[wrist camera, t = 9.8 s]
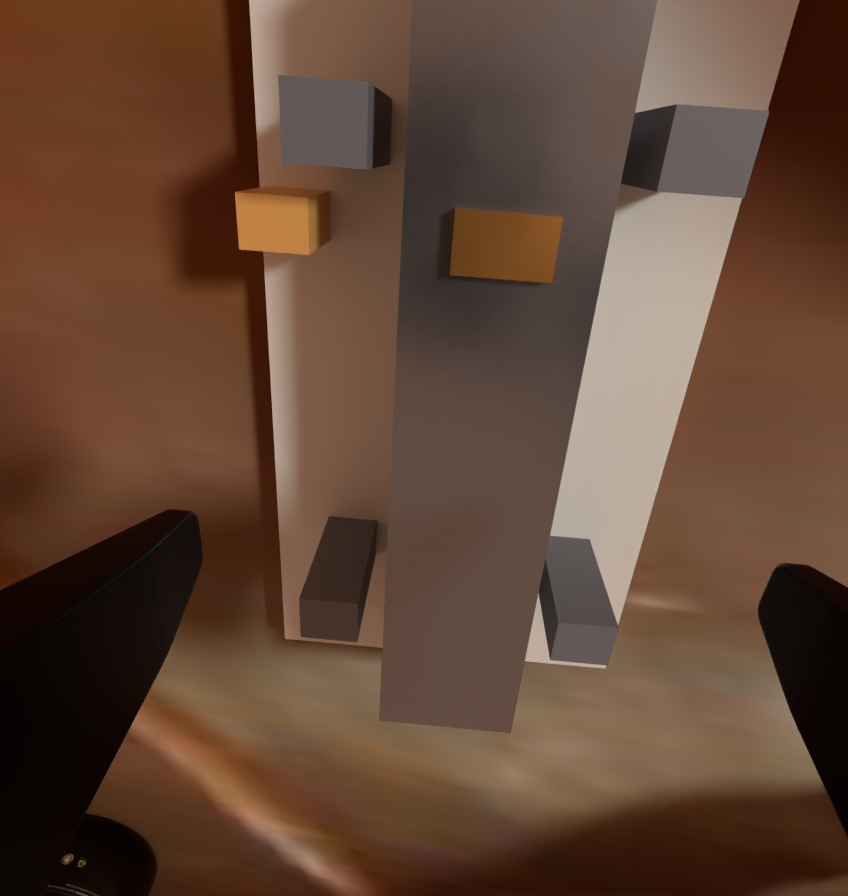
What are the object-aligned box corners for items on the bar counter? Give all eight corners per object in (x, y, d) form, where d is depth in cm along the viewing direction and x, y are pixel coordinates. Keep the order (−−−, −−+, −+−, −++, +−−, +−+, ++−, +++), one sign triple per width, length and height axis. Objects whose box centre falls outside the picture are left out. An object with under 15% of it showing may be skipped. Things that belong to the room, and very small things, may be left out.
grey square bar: (502, 635, 21) (511, 741, 18) (393, 625, 21) (377, 729, 18) (624, -77, 12) (699, -181, 8) (433, -90, 12) (419, -199, 8)
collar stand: (599, 648, 23) (633, 769, 18) (291, 619, 23) (251, 733, 18) (807, -99, 13) (996, -235, 8) (255, -136, 13) (146, -287, 8)
